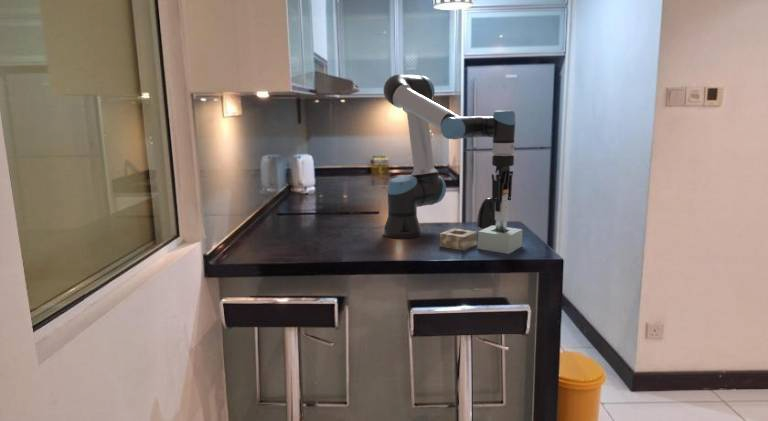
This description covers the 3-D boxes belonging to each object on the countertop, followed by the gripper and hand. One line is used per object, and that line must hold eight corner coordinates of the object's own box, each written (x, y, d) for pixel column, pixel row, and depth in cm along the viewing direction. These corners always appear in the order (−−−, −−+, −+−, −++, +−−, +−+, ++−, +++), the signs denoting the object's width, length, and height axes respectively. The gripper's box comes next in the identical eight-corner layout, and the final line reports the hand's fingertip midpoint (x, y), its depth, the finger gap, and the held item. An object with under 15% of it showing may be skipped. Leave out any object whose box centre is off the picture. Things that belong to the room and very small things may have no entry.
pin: (492, 235, 189) (494, 189, 186) (497, 233, 193) (499, 188, 189) (503, 237, 187) (505, 190, 183) (508, 235, 190) (510, 189, 187)
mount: (440, 246, 193) (440, 233, 192) (453, 240, 201) (453, 228, 200) (464, 250, 187) (464, 237, 186) (476, 244, 195) (476, 231, 194)
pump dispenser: (502, 238, 204) (503, 200, 201) (475, 236, 206) (476, 199, 203) (501, 231, 214) (503, 195, 211) (476, 230, 216) (477, 195, 213)
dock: (477, 248, 189) (478, 231, 188) (492, 241, 199) (492, 225, 198) (508, 253, 182) (509, 236, 181) (521, 246, 192) (522, 229, 191)
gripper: (503, 157, 175) (501, 224, 179) (522, 153, 188) (520, 215, 193) (482, 156, 179) (481, 221, 184) (503, 152, 193) (501, 213, 197)
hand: (501, 218), depth 188 cm, fingers closed on pin, 4 cm apart
